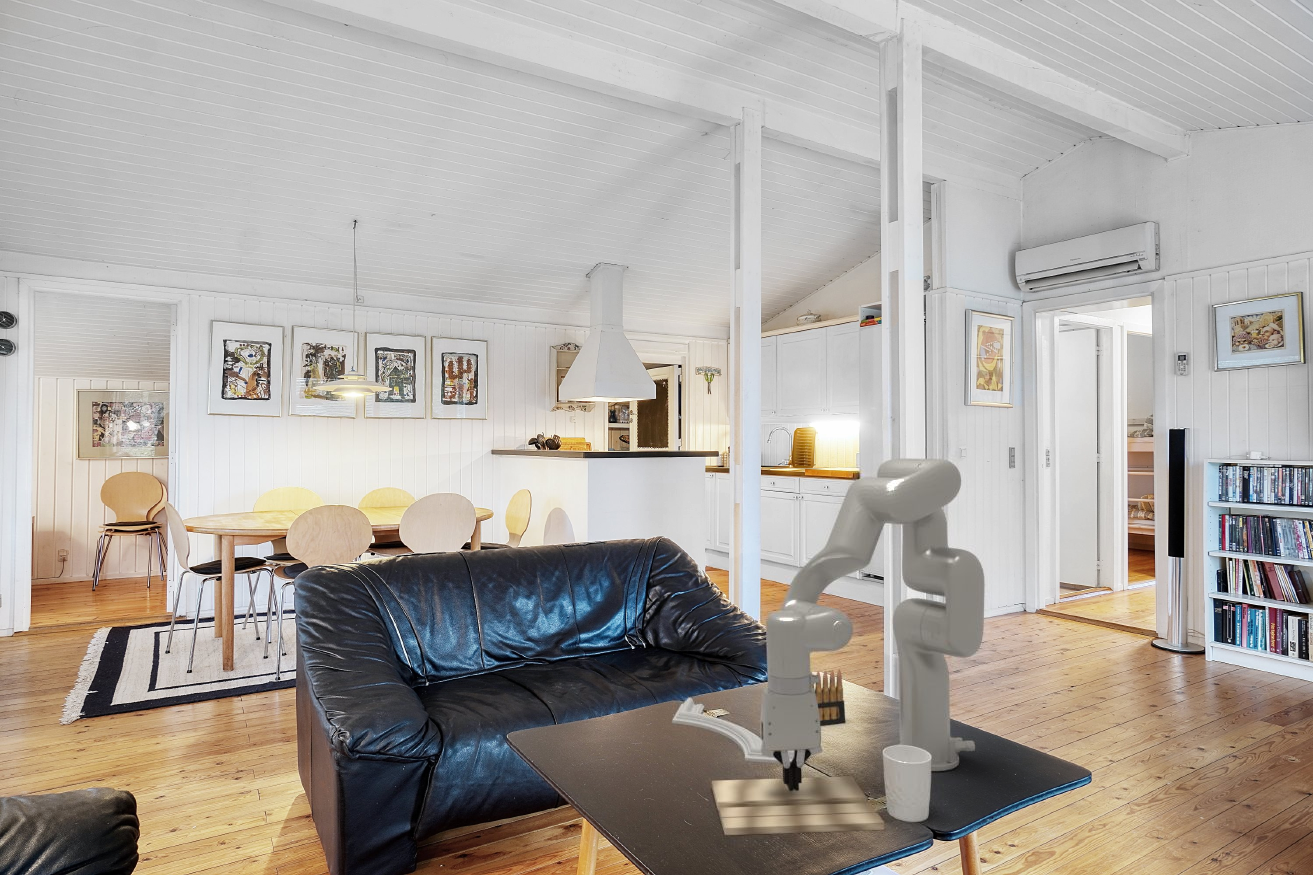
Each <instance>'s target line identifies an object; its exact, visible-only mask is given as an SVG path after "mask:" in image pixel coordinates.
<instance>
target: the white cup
mask: <svg viewBox="0 0 1313 875" xmlns="http://www.w3.org/2000/svg"><path fill="white" fill-rule="evenodd" d="M931 759H932V757H931V754H930V753H929V752H927V751H925V750H923V749H921V748H917V747H913V746H907V745H897V744H895V745H890V746H887V747H885V748H884V749H882V760H883V762H882V763H883V779H884V792H885V796H886V797H885V799H886V811H887V813H888V814H889V816H891V817H892V818H894V819H896V820H899V821H902V822H909V823H916V822H918V823H919V822H923V821H925V820H927V819H928V818H929V814H930V801H931V787H932V786H931V784H932V771H931Z"/></svg>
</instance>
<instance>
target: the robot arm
mask: <svg viewBox="0 0 1313 875" xmlns="http://www.w3.org/2000/svg"><path fill="white" fill-rule="evenodd" d="M876 475H877V476H876V477H874V476H871V477H863V478H859V479H857V480H855V481H853V482H851V484H850V486H849V487H848V489H847V491H846V493H845V497H844V498H843V501H842V504H841V506H840V508H839V511H838V513H837V514H838V515H837V517H836V519H835V522H834V524H833V527H832V529H831V531H830V532H831V533H830V535H829V537H828V540H827V541H826V544H825V546H824V547H823V548H822V549H821V550H820V551H818V553H817V554H815V555H814V556H813V557H812V558H811V559H809V561H807V563H806V564H805V565H803V567H802V568H801V569H799V571H798V572H797V573H796V574H795V576H794V577H793V579H792V581H791V582H790V584H789V587H788V589H787V592H786V593H785V597H784V599H783V602H782V605H781V608H780V610H777V611H774V612H771V613H770V614H768V615H767V617H766V620H765V621H766V622H765V632H766V633H765V634H766V635H765V637H766V638H765V639H766V640H765V641H766V642H765V643H766V666H767V671H766V672H767V687H765V688H764V689H763V690H762V696H761V703H760V704H761V705H760V706H761V707H760V721H759V722H760V728H759V729H760V731H759V732H760V733H759V734H760V738H761V740H762V746H761V753H762V755H763V756H767V757H774V758H776V759H777V760H778V761H779V762H780V763H781V765H782V779H783V782H784V784H787V786H788V788H789V790H790V791H793V790H796V791H799V783H802V778H803V777H802V768H803V767H804V766H805V763H806V761H808V759H809V758H810V757H811V756H814V755H815V756H816V755H817V754H818V755H819V754H821V753H822V752H823V747H822V728H821V727H822V726H820V718H819V711H818V704H817V699H816V695H815V691H814V689H815V688H814V689H813V688H812V686H813V684H814V685H816V683H819V676H818V675H817V674H814V673H812V674H811V673H810V672H812V671H811V653H815V652H820V653H821V652H834V651H835V652H837V651H839V650H841V649H844V648H845V647H846V646H847V645H848V644H849V643H850V642H851V640H852V637H853V633H854V626H853V623H852V621H851V619H850V618H849V616H848V615H847V614H846V613H844V611H841V610H839V609H837V608H833V607H830V606H825V605H821V604H819V603H818V601H819V598H820V597H821V595H822V593H823V592H824V591H825V590H826V588H828V587H829V586H830V585H831V584H832V583H834V582H835V581H837V580H839V579H840V578H843V577H845V576H849V575H850V574H853V573H855V572H857V571H860V570H863V569H865V568H866V567H868V565H870V564H871V562H872V561H871V560H872V558H873V555H874V553H875V550H876V547H877V544H878V542H879V539H880V537H881V534H882V532H883V529H884V527H885V524H890V525H891V524H892V525H900V526H901V525H902V546H901V547H902V551H901V552H902V553H901V572H902V580H903V583H904V584H905V585H906V587H908V588H909V589H911V590H913V591H916V592H918V593H924V594H929V595H935V596H939V597H944V599H945V602H941V601H936V600H930V599H926V598H921V597H920V598H919V597H917V598H916V597H915V598H908V599H904V600H902V601H901V602H899V603H898V605H897V606H896V607H895V608H894V612H893V615H892V628H893V634H894V639H895V642H896V647H897V648H896V649H897V657H898V658H897V659H898V701H899V702H898V703H899V705H898V706H899V708H898V709H899V710H898V711H899V714H898V715H899V743H897V744H896V745H907V746H913V747H917V748H921V749H923V750H925V751H927V752H929V753H930V754H931V757H932V759H931V772H942V771H943V772H945V771H949V770H953V769H954V768H956V767H957V766H959V763H960V757H959V753H960V752H961V751H962V752H963V751H965V752H975V751H976V744H975V741H974V740H963V738H962V737H952V736H951V714H950V712H951V711H950V710H951V708H950V705H951V704H950V702H951V701H950V700H951V699H950V697H951V696H950V670H949V665H948V662H947V660H946V656H945V655H947V656H950V657H956V658H963V659H965V658H970V657H972V656H974V655H975V654H976V653H978V651H979V649H980V647H981V645H982V641H983V636H984V627H985V626H984V625H985V586H986V584H985V573H984V569H983V565H982V563H981V562H980V560H979V558H978V557H977V556H976V555H975V554H974V553H972V552H971V551H968V550H966V549H962V548H955V547H949V544H948V543H949V542H948V523H947V517H946V514H945V512H944V510H943V507H945V506H947V505H948V504H950V503H951V502H953V500H954V499H955V498H956V497H957V495H958V494H959V492H960V490H961V486H962V475H961V472H960V470H959V469H958V467H957V466H956V465H955V464H954V463H953V462H951V461H949V460H947V459H942V458H893V459H889V460H886V461H884V462H883V463H881V464H880V465H879V467H878V469H877V473H876ZM791 750H794V755H793V759H792V761H791V762H790V761H789V755H788V751H791Z"/></svg>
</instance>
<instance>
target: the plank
mask: <svg viewBox="0 0 1313 875" xmlns="http://www.w3.org/2000/svg"><path fill="white" fill-rule="evenodd" d="M711 789H712V794H713V798H714V802H715V805H716V809H717V811H718V812H719V808H731V807H761V806H792V805H822V804H852V803H869V799H868V797H867V796H866V794H864V791H863V790H862V789H861V787H860V785H858V782H856V780H855V779H854V777H853V776H827V777H826V776H825V777H824V776H823V777H821V776H820V777H819V776H818V777H802V783H799V791H796V790H793V791H790V790H789V788H788V786H787V784H784V782H783V778H761V779H759V778H756V779H753V778H752V779H728V780H726V779H725V780H724V779H723V780H711Z"/></svg>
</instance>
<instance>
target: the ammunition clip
mask: <svg viewBox="0 0 1313 875" xmlns="http://www.w3.org/2000/svg"><path fill="white" fill-rule="evenodd" d="M810 673H811V674H813V672H812V671H811V672H810ZM816 675H818V676H819V683H815V684H813V686H812V688H813V689H814V691H815V695H816V699H817V704H818V711H819V718H820V727H826V726H833V725H843V724H846V712H845V711H846V709H845V707H846V706H845V700H844V688H843V687H844V686H843V678H842V677H843V676H842V672H841V669H840V668H838V669H837V672H836V676H835V672H834V670H833V669H831V670H830V675H829V677H828V673H827V670H824V671H823V675H822V679H821V674H820V671H817V673H816ZM828 678H829V679H828Z"/></svg>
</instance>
